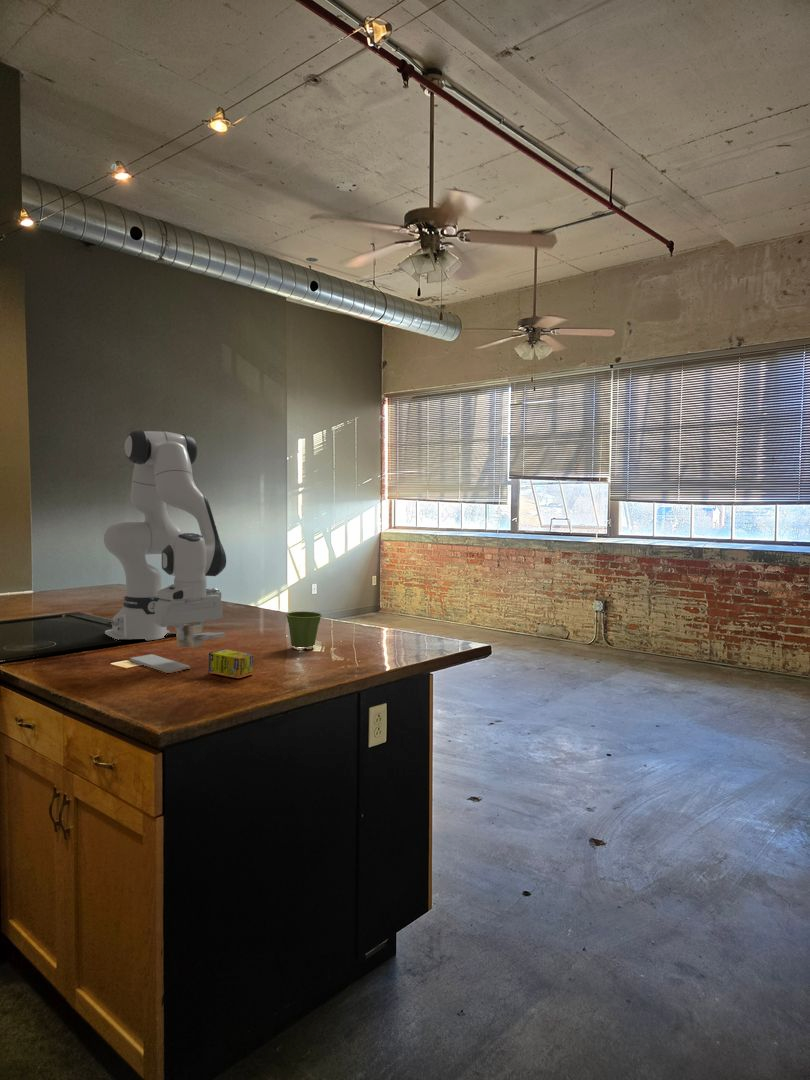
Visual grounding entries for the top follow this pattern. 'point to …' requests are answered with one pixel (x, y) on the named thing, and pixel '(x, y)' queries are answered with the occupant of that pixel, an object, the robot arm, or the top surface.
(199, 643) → the grey elongated block
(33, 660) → the top surface
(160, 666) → the rest mat
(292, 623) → the plant pot
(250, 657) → the supplement box
